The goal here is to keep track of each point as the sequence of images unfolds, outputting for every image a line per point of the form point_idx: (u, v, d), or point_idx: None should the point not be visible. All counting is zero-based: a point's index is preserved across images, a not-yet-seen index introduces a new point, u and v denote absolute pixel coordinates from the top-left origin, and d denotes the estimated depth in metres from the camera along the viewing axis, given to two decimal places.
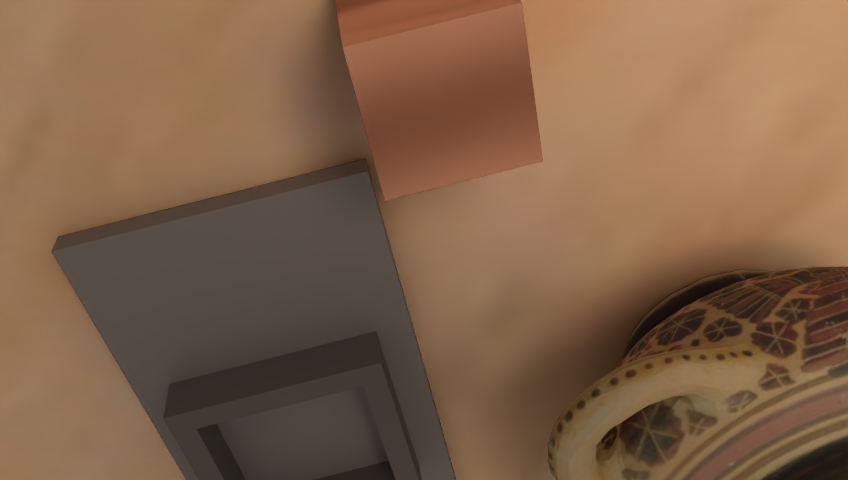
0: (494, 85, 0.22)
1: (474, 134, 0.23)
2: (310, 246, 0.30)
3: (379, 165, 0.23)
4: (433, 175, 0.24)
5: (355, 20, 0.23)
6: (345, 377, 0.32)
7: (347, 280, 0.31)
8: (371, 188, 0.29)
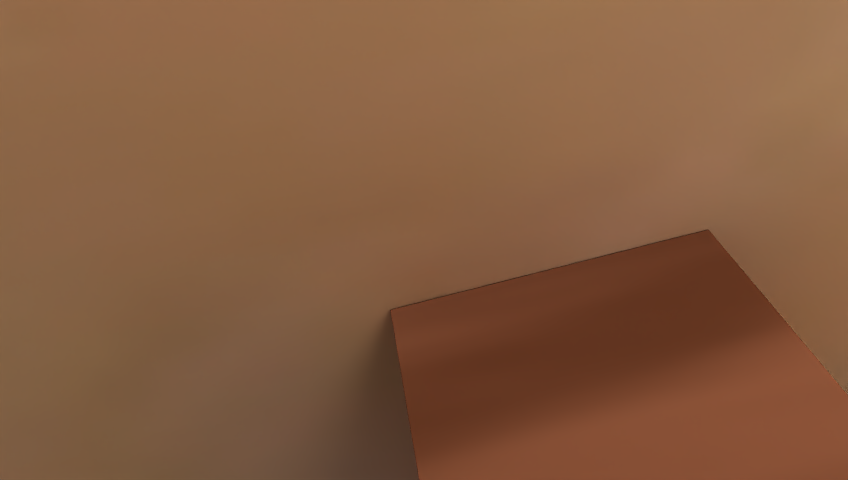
0: None
1: None
2: None
3: None
4: None
5: None
6: None
7: None
8: None
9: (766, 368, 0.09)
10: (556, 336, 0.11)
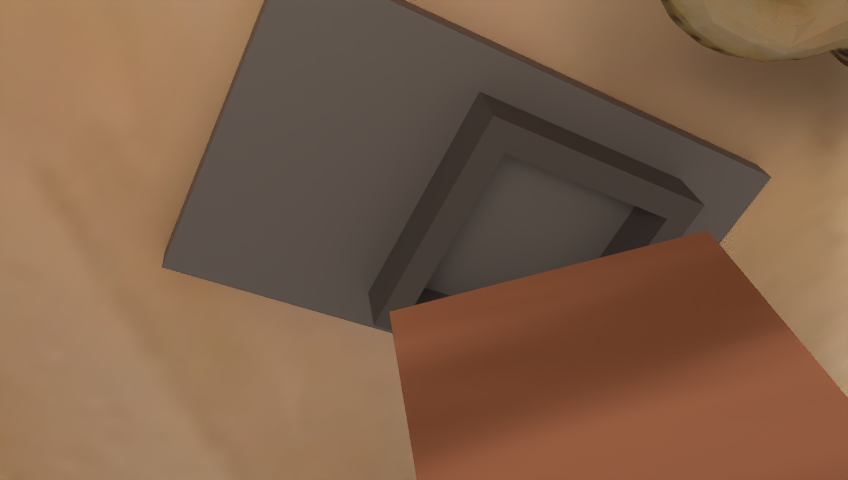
0: None
1: None
2: (328, 73, 0.25)
3: None
4: None
5: None
6: (478, 159, 0.26)
7: (396, 71, 0.26)
8: None
9: (765, 369, 0.09)
10: (555, 337, 0.11)
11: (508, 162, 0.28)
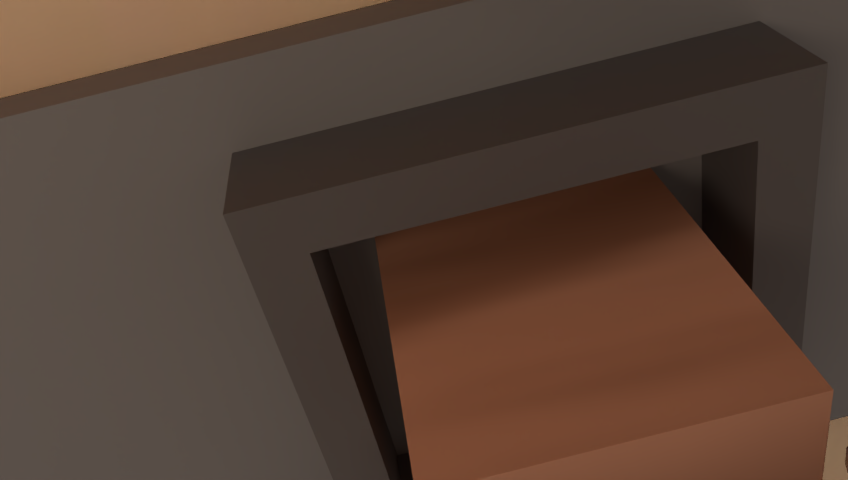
0: None
1: None
2: None
3: None
4: None
5: (433, 373, 0.11)
6: (274, 292, 0.12)
7: (73, 219, 0.13)
8: None
9: (675, 255, 0.12)
10: (509, 239, 0.13)
11: None
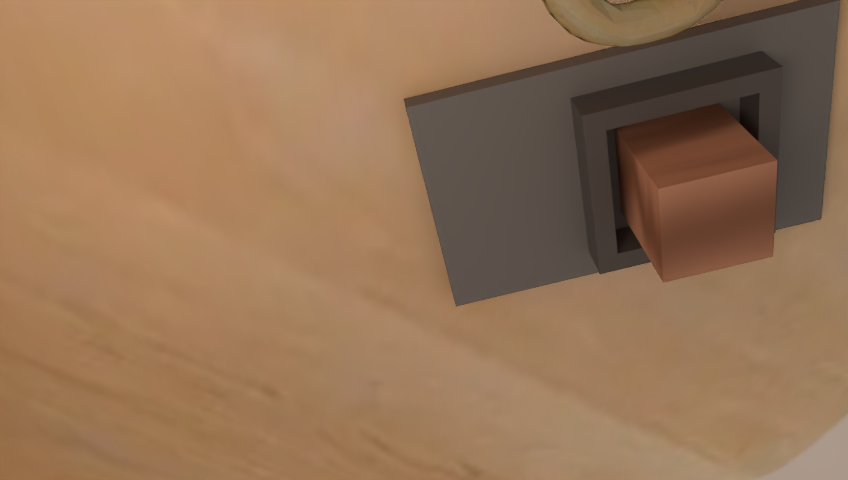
0: (750, 209, 0.33)
1: (730, 240, 0.34)
2: (472, 150, 0.37)
3: (664, 259, 0.34)
4: (698, 266, 0.35)
5: (654, 164, 0.34)
6: (591, 144, 0.35)
7: (510, 122, 0.37)
8: (422, 104, 0.36)
9: (730, 131, 0.35)
10: (670, 129, 0.36)
11: None
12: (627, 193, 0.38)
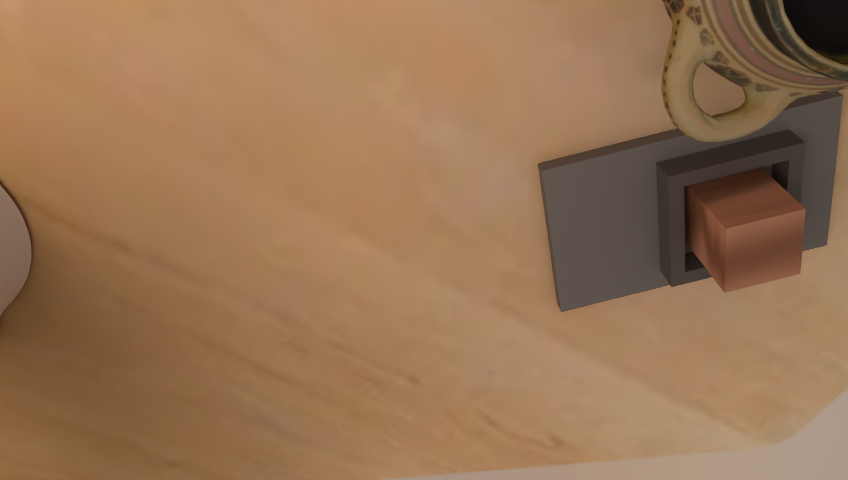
0: (786, 241, 0.49)
1: (772, 262, 0.49)
2: (584, 199, 0.52)
3: (726, 276, 0.49)
4: (749, 280, 0.50)
5: (719, 211, 0.49)
6: (673, 196, 0.50)
7: (613, 179, 0.51)
8: (553, 168, 0.50)
9: (770, 186, 0.50)
10: (726, 184, 0.51)
11: None
12: (693, 229, 0.53)
